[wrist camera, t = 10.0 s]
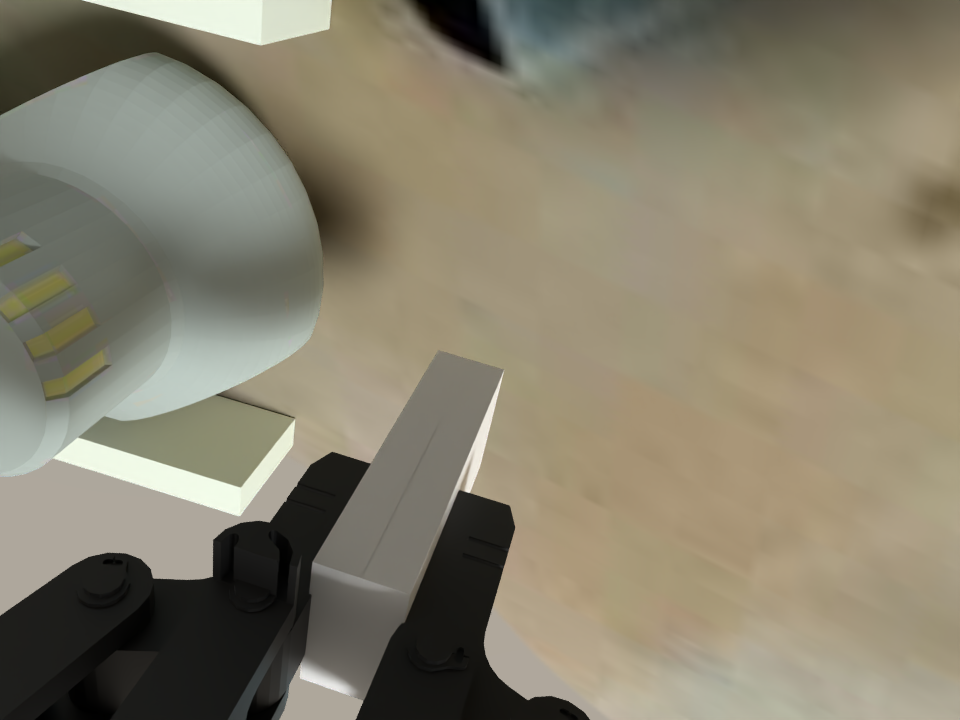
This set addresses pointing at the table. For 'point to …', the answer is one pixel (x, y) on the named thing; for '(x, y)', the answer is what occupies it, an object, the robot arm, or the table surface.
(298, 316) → the air freshener
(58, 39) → the table surface
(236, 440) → the dock
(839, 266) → the table surface
